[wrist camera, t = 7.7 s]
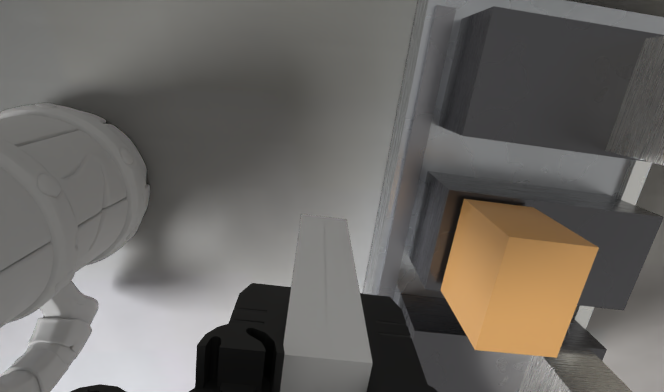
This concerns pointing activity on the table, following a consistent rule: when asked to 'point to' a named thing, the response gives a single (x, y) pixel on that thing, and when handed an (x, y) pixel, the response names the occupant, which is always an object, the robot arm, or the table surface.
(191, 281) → the table surface
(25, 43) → the table surface
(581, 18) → the breaker panel
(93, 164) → the mug
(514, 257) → the toggle
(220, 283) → the table surface
